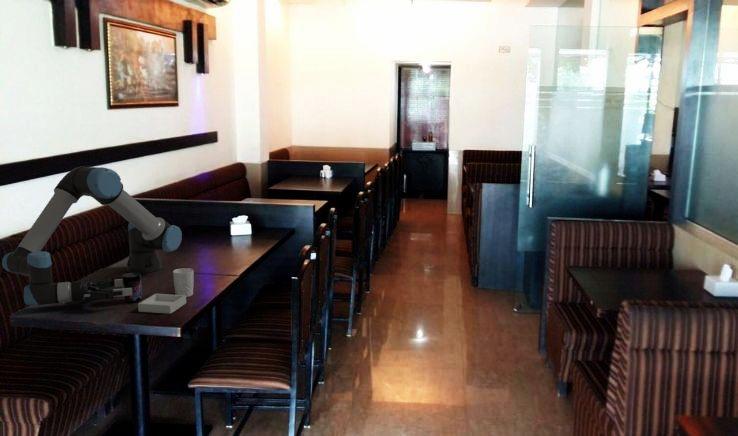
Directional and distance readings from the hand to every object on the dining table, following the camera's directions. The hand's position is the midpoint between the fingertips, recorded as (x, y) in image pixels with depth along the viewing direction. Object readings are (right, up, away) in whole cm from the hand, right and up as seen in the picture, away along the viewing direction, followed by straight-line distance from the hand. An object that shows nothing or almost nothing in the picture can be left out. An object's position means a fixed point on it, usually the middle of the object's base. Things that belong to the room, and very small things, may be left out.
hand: (132, 286), depth 239 cm
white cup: (+17, -5, +9) cm, 20 cm away
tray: (+14, -7, -6) cm, 17 cm away
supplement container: (0, -6, +1) cm, 6 cm away
